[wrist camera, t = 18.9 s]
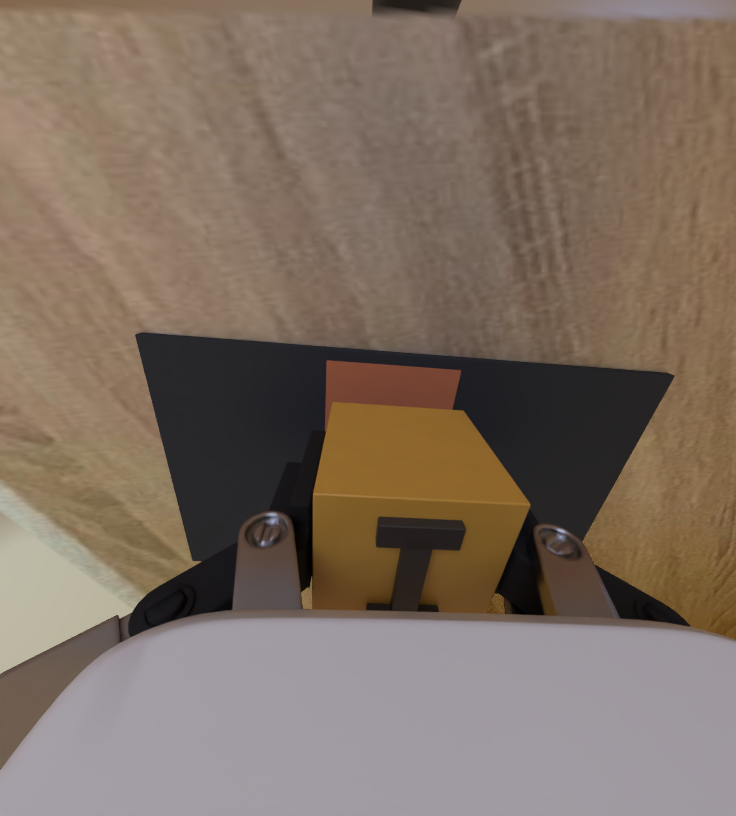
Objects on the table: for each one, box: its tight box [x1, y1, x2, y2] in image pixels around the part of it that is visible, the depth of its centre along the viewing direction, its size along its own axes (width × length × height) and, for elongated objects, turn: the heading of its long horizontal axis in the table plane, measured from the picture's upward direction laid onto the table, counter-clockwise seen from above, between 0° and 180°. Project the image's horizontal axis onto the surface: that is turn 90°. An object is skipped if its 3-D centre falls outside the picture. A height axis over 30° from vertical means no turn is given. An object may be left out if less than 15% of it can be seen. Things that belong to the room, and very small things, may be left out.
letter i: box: [312, 402, 530, 614], centre depth 10 cm, size 5×5×5 cm
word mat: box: [135, 333, 674, 561], centre depth 16 cm, size 14×24×1 cm, turn 85°
